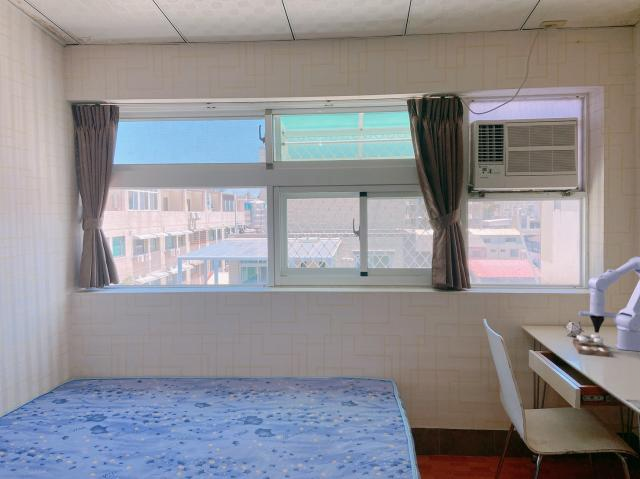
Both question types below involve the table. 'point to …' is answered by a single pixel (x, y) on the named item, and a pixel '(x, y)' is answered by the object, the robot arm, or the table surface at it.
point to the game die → (573, 328)
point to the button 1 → (583, 339)
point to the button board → (591, 348)
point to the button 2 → (594, 336)
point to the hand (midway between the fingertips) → (596, 332)
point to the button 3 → (598, 341)
